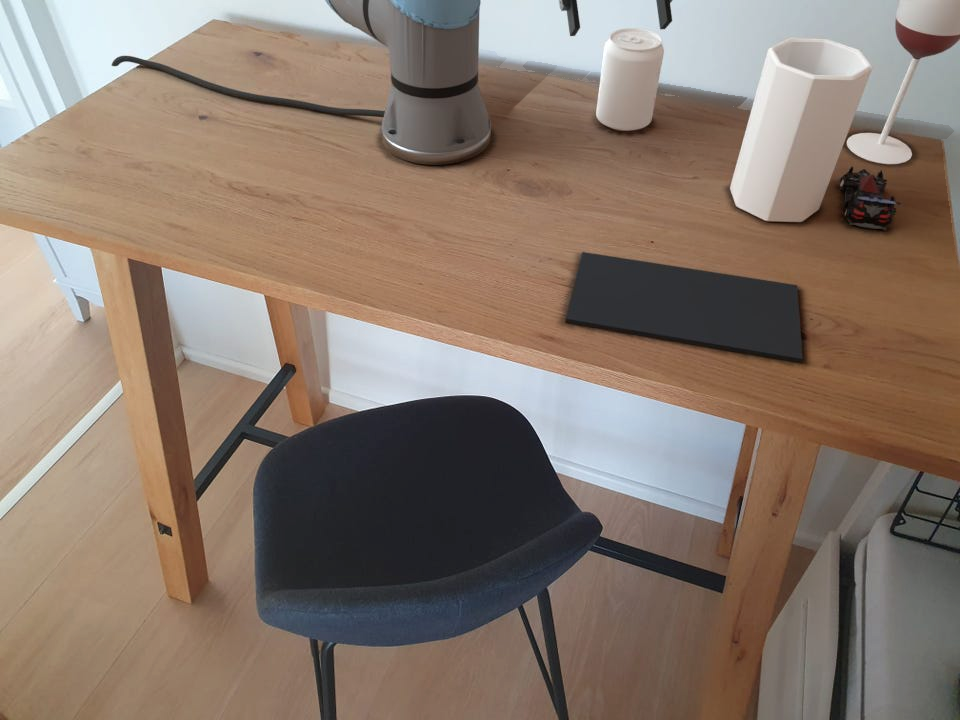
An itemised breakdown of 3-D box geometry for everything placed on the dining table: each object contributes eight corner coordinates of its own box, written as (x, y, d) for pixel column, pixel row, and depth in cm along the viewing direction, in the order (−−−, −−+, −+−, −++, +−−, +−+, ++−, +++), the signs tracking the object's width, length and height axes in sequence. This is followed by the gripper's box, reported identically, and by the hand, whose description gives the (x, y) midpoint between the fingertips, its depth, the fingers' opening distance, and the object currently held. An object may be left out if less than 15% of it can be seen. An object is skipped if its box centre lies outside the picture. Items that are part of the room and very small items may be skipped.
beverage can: (637, 139, 108) (651, 56, 100) (586, 124, 111) (595, 41, 103) (659, 116, 113) (674, 35, 105) (609, 102, 116) (620, 22, 108)
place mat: (565, 322, 81) (565, 318, 80) (581, 255, 89) (582, 251, 89) (801, 363, 77) (802, 358, 76) (795, 289, 85) (797, 285, 85)
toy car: (840, 226, 94) (852, 197, 91) (833, 175, 102) (844, 148, 99) (893, 233, 93) (906, 205, 90) (882, 182, 101) (894, 154, 98)
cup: (824, 188, 100) (877, 46, 87) (812, 233, 93) (868, 86, 80) (738, 168, 103) (777, 29, 90) (720, 211, 96) (759, 66, 83)
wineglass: (842, 158, 105) (910, -19, 89) (846, 125, 112) (910, -45, 96) (913, 172, 103) (996, -7, 87) (914, 138, 110) (991, -35, 93)
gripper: (673, -108, 114) (692, 33, 114) (510, -101, 110) (530, 46, 111) (695, -141, 107) (714, 10, 107) (521, -134, 103) (542, 22, 103)
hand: (621, 28), depth 109 cm, fingers open, 13 cm apart
